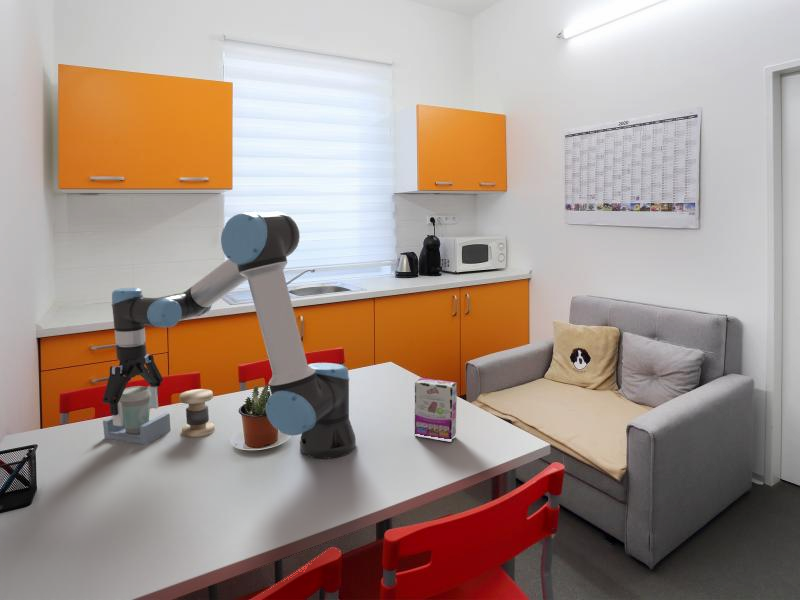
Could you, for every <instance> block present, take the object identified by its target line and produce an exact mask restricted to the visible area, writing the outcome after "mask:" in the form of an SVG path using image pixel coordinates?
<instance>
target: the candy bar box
mask: <svg viewBox="0 0 800 600" xmlns="http://www.w3.org/2000/svg"><path fill="white" fill-rule="evenodd" d="M457 384H458V382H455V381H447V380H441V379H433V378H432V379H431V378H423V377H420V378H419V379H418V380H417V381H415V383H414V435H415V434H420V435H424V436H431V437H438V438H444V439H452V438H453V437H454V436H455V434H456V435H457V396H458V395H457V393H458V391H457V388H458V385H457Z"/></svg>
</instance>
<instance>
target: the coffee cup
mask: <svg viewBox="0 0 800 600" xmlns="http://www.w3.org/2000/svg"><path fill="white" fill-rule="evenodd" d="M150 396H151V392H150V390H149V388H148V386H145V385H144V386H143V385H137V386H129V387H125V389H124V392H123V394H122V396H121V398H120V400H119V402H121V404H122V416H123V420H124V425H125V429H126V433H127V434H140V426H141V425H143V424H145V423H147V422H149V421H150V412H151V411H150V409H151V408H150Z"/></svg>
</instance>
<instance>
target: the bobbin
mask: <svg viewBox="0 0 800 600" xmlns="http://www.w3.org/2000/svg"><path fill="white" fill-rule="evenodd" d="M178 398H179V402H180V403H182V404H185V405H188V406H187V407H186V408H185V416H186V424H185V425H184V426H183V427H181V435H182V436H183V437H185V438H191V439H192V438H193V439H194V438H196V439H197V438H202V437H205V436H208V435H210V434H213V433H214V432H215V428H216V427H215V423H213V422H211V421H209V419H210V418H209V414H210V413H209V406H208V405H206V402H209V401H211V400H212V399H213V398H214V393H213V391H212V390H211V389H205V388H198V389H197V388H196V389H190V390H186V391H183V392H181V393H180V394H179V397H178Z"/></svg>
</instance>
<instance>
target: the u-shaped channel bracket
mask: <svg viewBox="0 0 800 600" xmlns="http://www.w3.org/2000/svg"><path fill="white" fill-rule="evenodd" d="M170 416H171V415H170V413H168V412H164V413H162V414H159V415H158V416H157V417H154V418H152V419H151V420H150V419H149V422H147V423H145V424H143V425H141V426H140V434H127V433H126V429H125V425H124V420H123V426H116V425H113V418H112V416H109V417H107V418H105V419H103V420H102V426H103V427H102V428H103V436H104V439H109V440H112V441H121V442H128V443H133V444H139V445H148V444H150V443H151V442H153V441H155V440H156V439H158V438H160V437H162V436H163V435H165V434H167V433H168V432H170V431H171V417H170Z"/></svg>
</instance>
